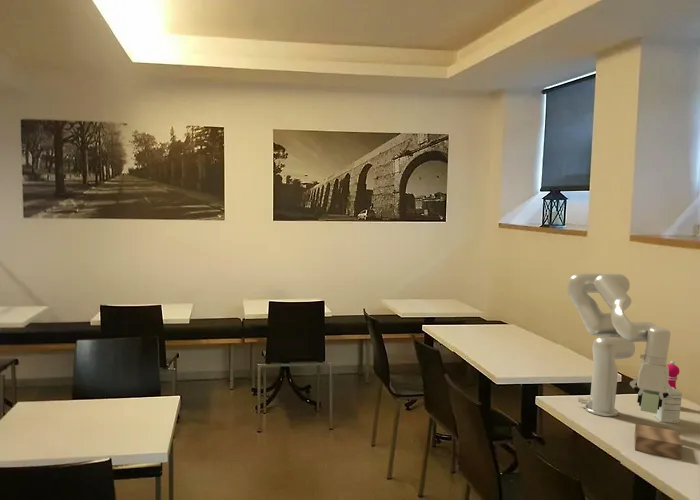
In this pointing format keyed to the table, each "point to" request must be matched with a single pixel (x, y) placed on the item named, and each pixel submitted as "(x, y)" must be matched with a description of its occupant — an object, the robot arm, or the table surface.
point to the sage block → (649, 401)
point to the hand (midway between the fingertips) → (648, 406)
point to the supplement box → (670, 408)
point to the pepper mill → (672, 374)
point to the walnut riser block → (657, 441)
